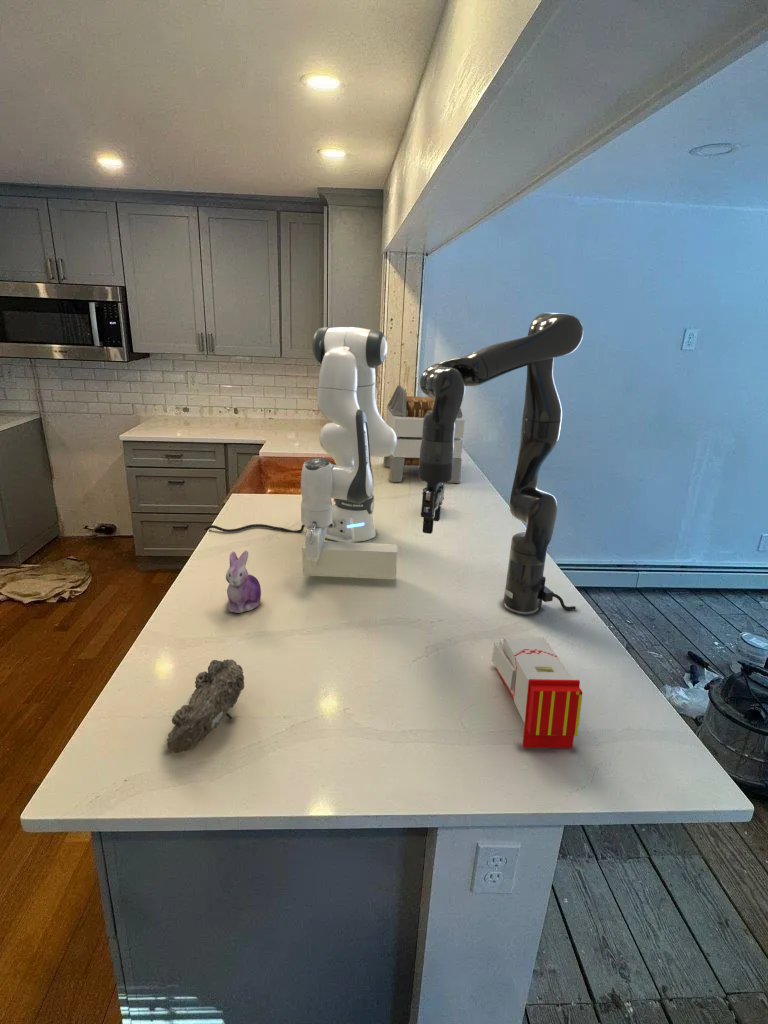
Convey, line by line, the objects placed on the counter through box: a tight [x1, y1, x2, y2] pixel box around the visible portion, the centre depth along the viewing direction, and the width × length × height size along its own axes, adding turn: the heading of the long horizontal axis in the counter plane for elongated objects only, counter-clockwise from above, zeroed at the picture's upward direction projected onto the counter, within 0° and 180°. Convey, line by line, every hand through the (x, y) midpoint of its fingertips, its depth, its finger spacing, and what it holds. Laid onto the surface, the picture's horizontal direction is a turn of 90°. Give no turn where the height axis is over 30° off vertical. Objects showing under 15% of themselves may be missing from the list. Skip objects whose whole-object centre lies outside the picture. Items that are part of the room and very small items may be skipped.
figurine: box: [225, 550, 262, 614], centre depth 146 cm, size 9×10×15 cm
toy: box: [491, 636, 583, 749], centre depth 115 cm, size 12×13×30 cm
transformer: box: [383, 384, 465, 484], centre depth 268 cm, size 34×33×41 cm
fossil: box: [166, 658, 245, 754], centre depth 106 cm, size 22×10×15 cm
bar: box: [301, 541, 398, 580], centre depth 163 cm, size 27×6×8 cm, turn 89°
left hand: (316, 561), depth 164 cm, fingers closed on bar, 5 cm apart
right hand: (431, 526), depth 131 cm, fingers open, 8 cm apart
